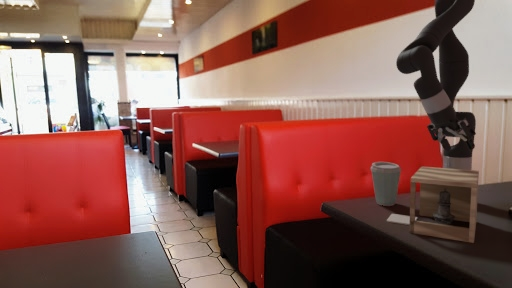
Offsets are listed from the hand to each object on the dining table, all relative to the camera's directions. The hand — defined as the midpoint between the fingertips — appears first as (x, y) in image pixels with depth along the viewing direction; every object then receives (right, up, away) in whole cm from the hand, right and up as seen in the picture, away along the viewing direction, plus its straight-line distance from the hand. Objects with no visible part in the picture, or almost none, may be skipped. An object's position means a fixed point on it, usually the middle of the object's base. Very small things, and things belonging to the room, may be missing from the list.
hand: (459, 149), depth 119 cm
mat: (-18, -23, 0) cm, 29 cm away
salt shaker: (-9, -23, -7) cm, 26 cm away
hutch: (-9, -23, -7) cm, 26 cm away
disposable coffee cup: (-17, -21, +18) cm, 33 cm away
